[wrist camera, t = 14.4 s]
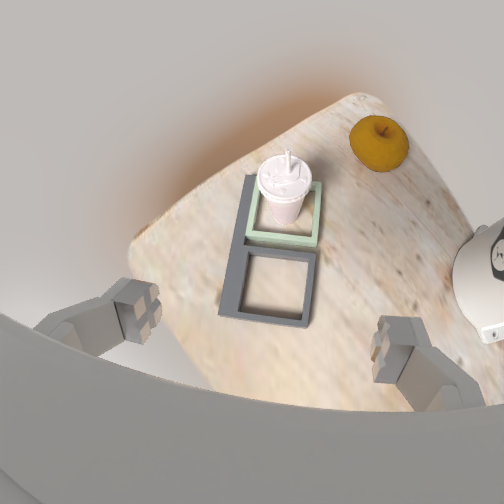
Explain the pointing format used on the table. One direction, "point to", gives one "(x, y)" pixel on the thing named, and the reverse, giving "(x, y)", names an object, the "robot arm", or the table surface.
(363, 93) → the table surface
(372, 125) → the apple
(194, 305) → the table surface
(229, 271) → the rail
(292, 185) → the smoothie
